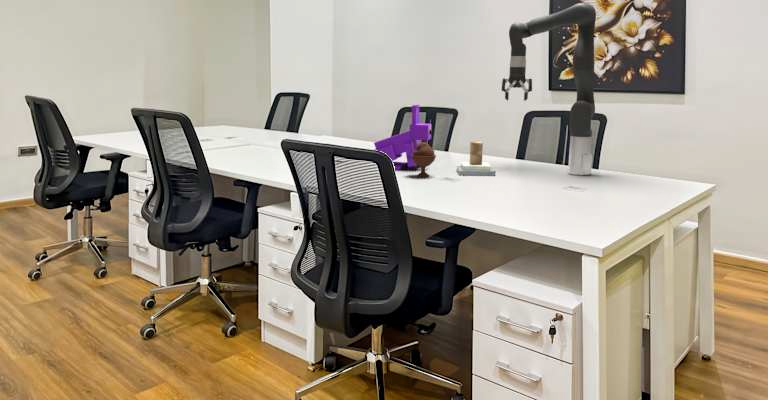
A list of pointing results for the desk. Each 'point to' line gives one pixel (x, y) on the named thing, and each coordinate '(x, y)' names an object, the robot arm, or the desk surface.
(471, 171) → the plinth
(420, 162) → the ice cream bowl
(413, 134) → the toy
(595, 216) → the desk surface
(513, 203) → the desk surface
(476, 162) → the brown mottled cylinder
